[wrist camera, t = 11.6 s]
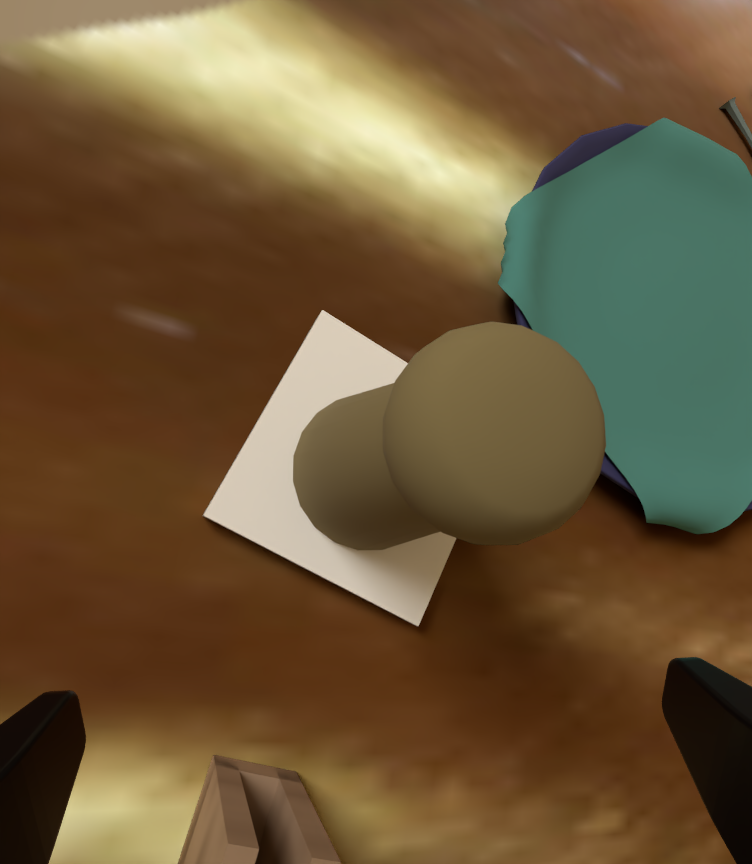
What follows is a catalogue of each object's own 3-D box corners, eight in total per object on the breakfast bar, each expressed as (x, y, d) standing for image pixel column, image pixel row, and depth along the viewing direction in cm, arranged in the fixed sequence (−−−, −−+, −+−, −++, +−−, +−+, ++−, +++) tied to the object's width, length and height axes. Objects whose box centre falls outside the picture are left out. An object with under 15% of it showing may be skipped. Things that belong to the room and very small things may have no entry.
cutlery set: (411, 237, 26) (433, 210, 24) (762, 48, 37) (799, 18, 35) (643, 604, 27) (685, 610, 25) (916, 313, 38) (961, 300, 36)
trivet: (410, 623, 23) (418, 626, 22) (202, 515, 21) (203, 515, 20) (495, 427, 25) (505, 424, 25) (317, 316, 24) (322, 309, 23)
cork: (428, 388, 24) (621, 280, 13) (452, 537, 23) (675, 542, 13) (282, 400, 22) (378, 283, 11) (303, 564, 21) (426, 596, 11)
